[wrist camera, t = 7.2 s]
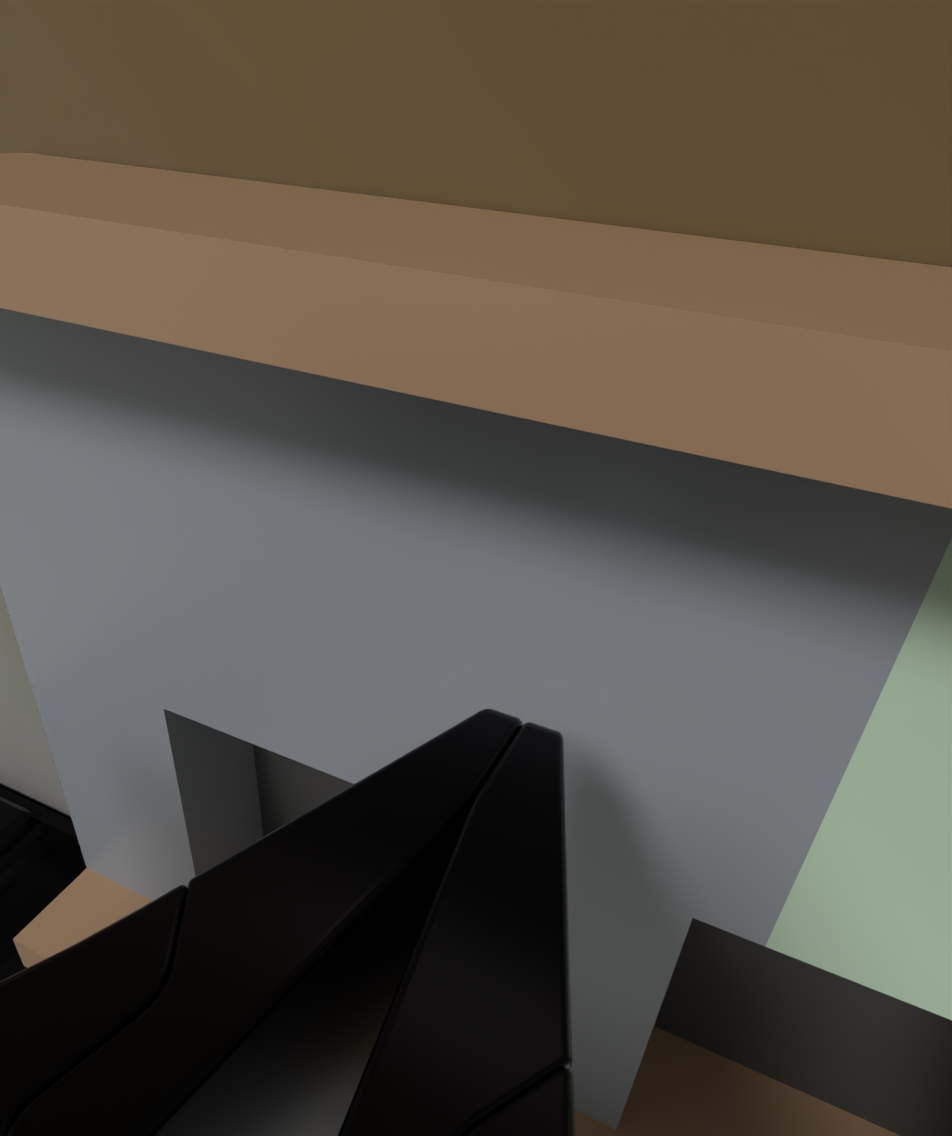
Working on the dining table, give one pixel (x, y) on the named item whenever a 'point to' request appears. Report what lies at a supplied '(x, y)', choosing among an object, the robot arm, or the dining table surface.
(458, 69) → the dining table surface
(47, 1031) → the robot arm
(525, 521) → the box
